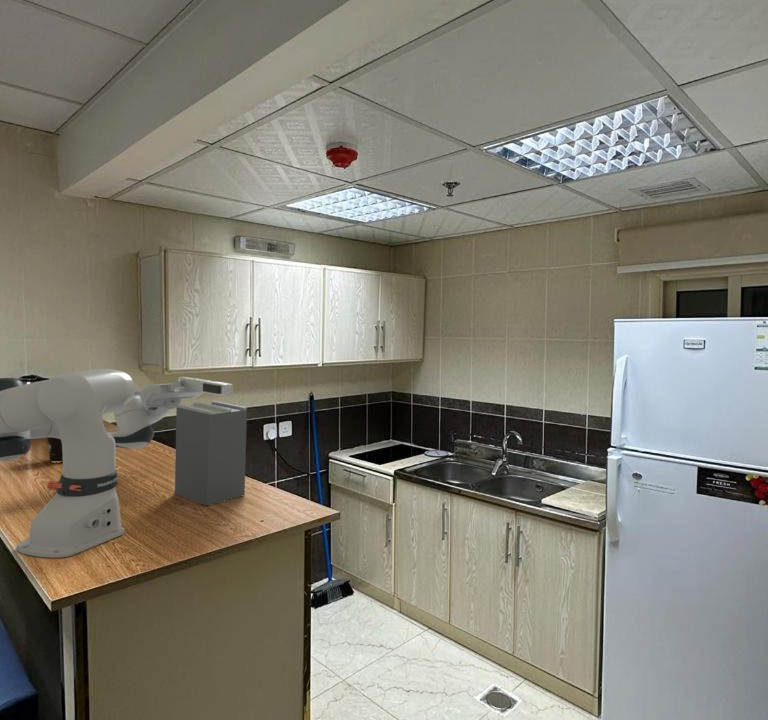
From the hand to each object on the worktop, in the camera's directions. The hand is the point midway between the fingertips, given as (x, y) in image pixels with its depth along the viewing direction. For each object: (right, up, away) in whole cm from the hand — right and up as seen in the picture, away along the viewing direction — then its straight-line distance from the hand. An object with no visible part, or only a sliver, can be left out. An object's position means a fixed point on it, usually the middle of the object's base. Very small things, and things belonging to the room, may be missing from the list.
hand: (187, 381), depth 168 cm
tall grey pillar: (+11, -33, -12) cm, 37 cm away
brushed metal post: (+7, -3, -5) cm, 9 cm away
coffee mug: (-52, -29, +18) cm, 62 cm away
